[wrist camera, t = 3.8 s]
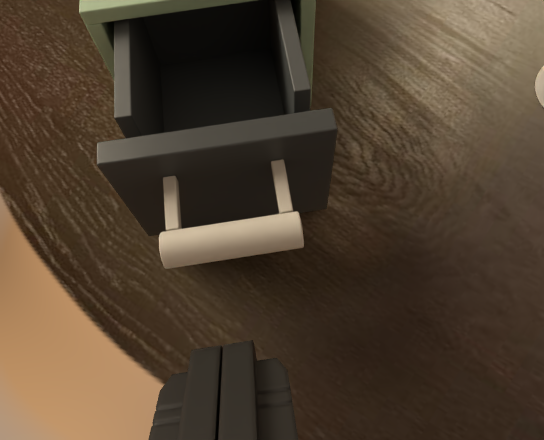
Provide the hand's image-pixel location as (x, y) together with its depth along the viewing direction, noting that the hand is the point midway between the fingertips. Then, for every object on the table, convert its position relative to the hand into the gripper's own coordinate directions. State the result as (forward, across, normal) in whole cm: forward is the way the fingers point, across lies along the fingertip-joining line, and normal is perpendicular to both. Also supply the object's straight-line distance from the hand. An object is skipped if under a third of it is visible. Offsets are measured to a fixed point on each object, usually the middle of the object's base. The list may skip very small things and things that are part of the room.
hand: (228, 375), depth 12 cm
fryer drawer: (+19, 0, -1) cm, 19 cm away
